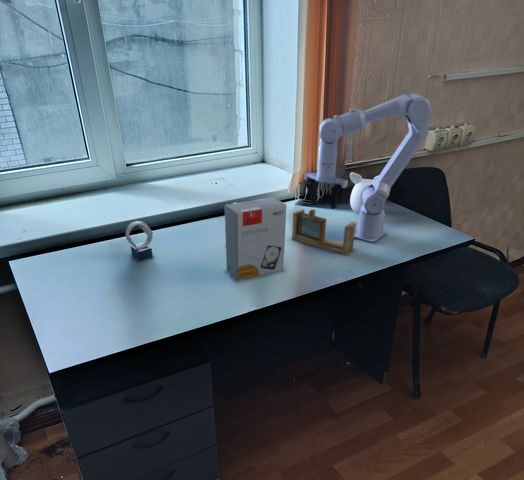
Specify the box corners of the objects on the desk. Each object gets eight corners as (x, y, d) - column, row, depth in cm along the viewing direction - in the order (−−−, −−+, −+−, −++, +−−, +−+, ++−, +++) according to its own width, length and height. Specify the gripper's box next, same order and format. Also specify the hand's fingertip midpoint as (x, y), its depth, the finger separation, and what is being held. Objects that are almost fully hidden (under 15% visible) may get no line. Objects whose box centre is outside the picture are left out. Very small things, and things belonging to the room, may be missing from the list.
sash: (300, 234, 160) (302, 206, 154) (323, 240, 156) (325, 212, 150) (297, 236, 159) (299, 208, 153) (320, 242, 155) (322, 214, 149)
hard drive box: (236, 282, 136) (234, 213, 124) (225, 271, 141) (222, 204, 130) (284, 270, 142) (287, 204, 130) (272, 260, 147) (273, 195, 136)
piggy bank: (375, 207, 184) (380, 167, 176) (382, 219, 175) (389, 177, 166) (343, 208, 184) (347, 167, 175) (349, 219, 174) (353, 177, 166)
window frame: (300, 234, 163) (301, 208, 158) (352, 249, 154) (356, 222, 149) (291, 239, 160) (293, 213, 155) (345, 255, 151) (348, 227, 145)
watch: (158, 255, 150) (154, 221, 143) (134, 262, 146) (128, 228, 139) (150, 249, 153) (145, 216, 147) (126, 256, 149) (120, 222, 143)
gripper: (300, 161, 149) (298, 204, 157) (341, 169, 142) (337, 213, 150) (312, 156, 154) (309, 198, 162) (352, 163, 147) (347, 207, 155)
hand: (323, 205), depth 157 cm, fingers open, 7 cm apart
